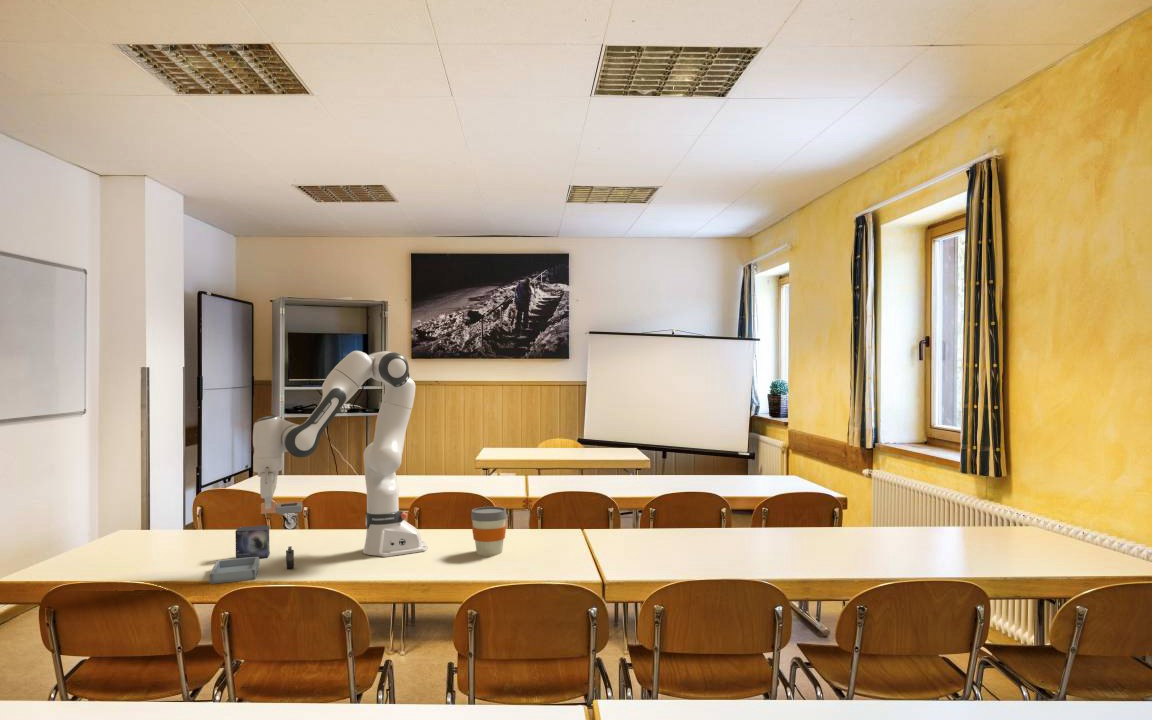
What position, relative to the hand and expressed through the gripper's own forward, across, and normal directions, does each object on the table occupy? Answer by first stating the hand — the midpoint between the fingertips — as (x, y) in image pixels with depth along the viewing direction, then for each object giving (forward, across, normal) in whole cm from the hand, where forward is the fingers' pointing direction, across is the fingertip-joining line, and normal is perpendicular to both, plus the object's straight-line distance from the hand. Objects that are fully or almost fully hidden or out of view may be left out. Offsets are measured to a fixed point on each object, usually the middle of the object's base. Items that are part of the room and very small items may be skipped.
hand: (268, 507), depth 246 cm
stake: (+21, 0, -6) cm, 22 cm away
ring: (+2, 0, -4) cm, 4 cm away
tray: (+21, 0, +10) cm, 23 cm away
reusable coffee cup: (+21, -5, -72) cm, 75 cm away
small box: (+21, +21, +7) cm, 30 cm away
